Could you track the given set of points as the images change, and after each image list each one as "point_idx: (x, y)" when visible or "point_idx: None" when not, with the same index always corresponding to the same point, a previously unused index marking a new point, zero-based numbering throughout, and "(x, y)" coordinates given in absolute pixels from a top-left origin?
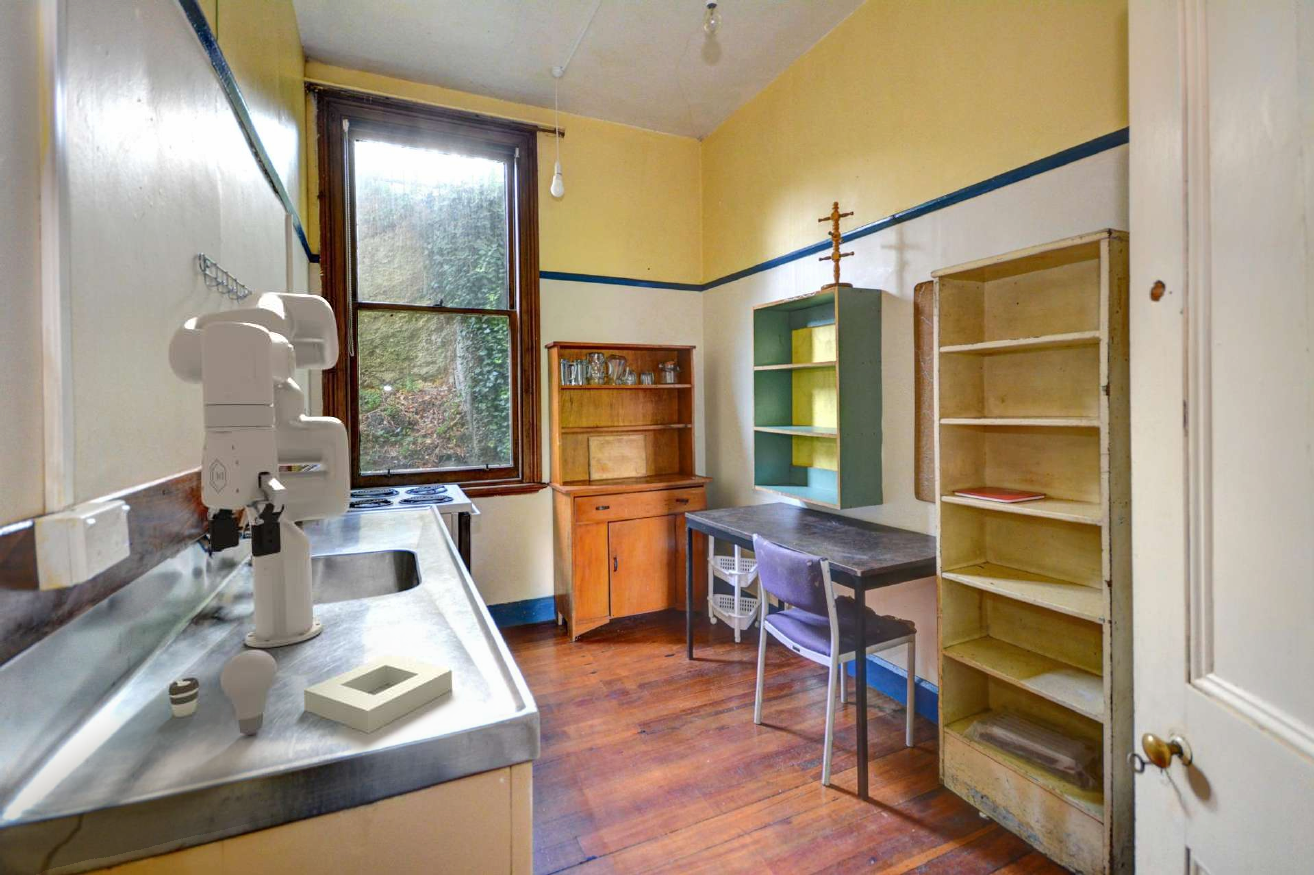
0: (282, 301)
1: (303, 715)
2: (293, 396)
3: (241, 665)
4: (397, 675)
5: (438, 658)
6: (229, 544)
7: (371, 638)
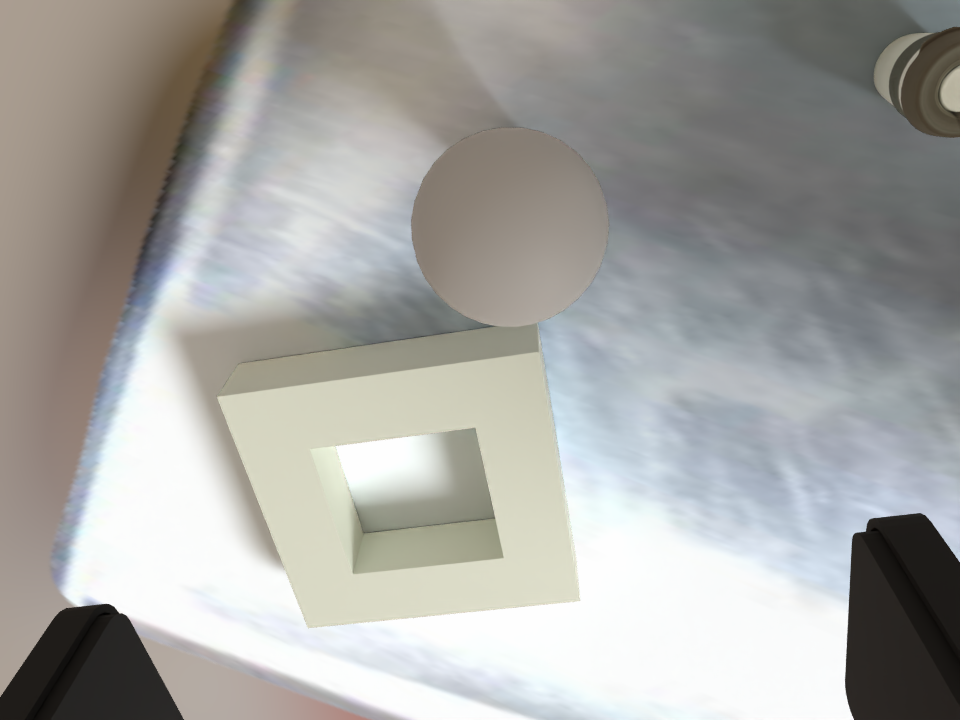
0: None
1: None
2: None
3: (448, 207)
4: (451, 547)
5: (546, 660)
6: (856, 657)
7: None
